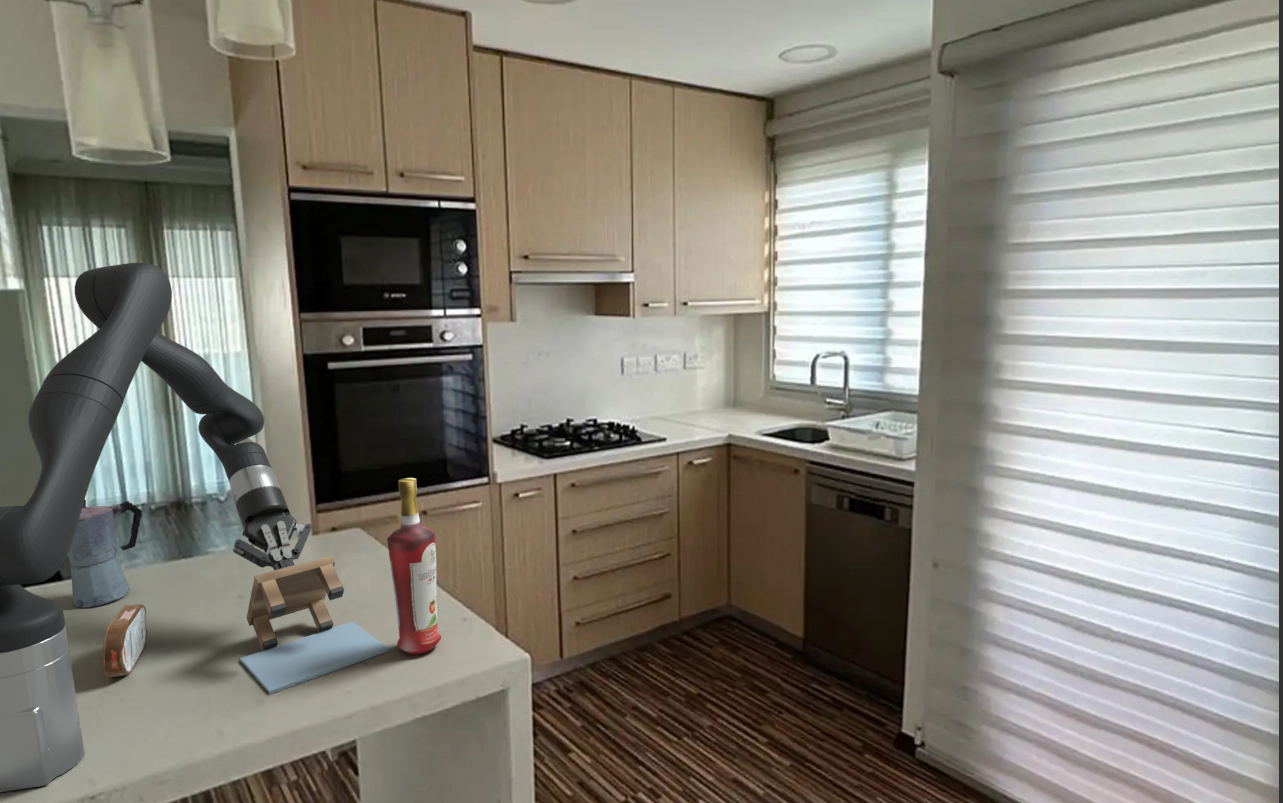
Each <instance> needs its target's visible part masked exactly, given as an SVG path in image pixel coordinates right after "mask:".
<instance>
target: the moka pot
mask: <svg viewBox="0 0 1283 803" xmlns="http://www.w3.org/2000/svg"><path fill="white" fill-rule="evenodd" d="M127 511H131V512H133V516H132V523H131V532H130V535H131V536H130V538H129V541H128V543H127V544H123V545H121V546H120V547H119V548H120V549H121V551H126V550H129V549H133V548H135V547H136V543H137V539H138V533H139V528H140V524H141V520H142V517H143V516H142V515H143V513H142V512H143V511H142V509H141V508H139V507H138V506H137V505H134V504H133V503H132V502H130V501H129V500H127V501H124V502H121V503H117V504H112V505H109V506H108V505H97V506H96V505H95V506H87V500H86V499H85V500H84V503H83V507H82V510H81V514H80V518H79V521H78V525H77V528H76V531H75V535H74V538H73V541H72V544H71V547H70V550H69V552H68V554H67V556H66V558H68V560H69V564H70V565H71V568H70V570H69V571H70V575H71V588H72V589H71V590H72V602H73V603H72V605H73V606H74V607H76V608H83V609H85V608H92V607H98V606H99V607H100V606H102V605H105V604H109V603H112V602H115V601H117V600H119V599H121V598H124V597H125V596H127V595H128V594H129V592H130V590H131V589H130V586H129V584H128V580H127V578H126V575H125V573H124V570H123V568H122V565H121V562H120V561H119V558H118V556H117V551H118V548H117V547H116V545H117V532H116V530H117V529H116V527H117V526H116V515H120V514H124V513H126V512H127Z"/></svg>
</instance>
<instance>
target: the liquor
mask: <svg viewBox="0 0 1283 803" xmlns="http://www.w3.org/2000/svg"><path fill="white" fill-rule="evenodd" d="M417 486H418V485H417V478H414V477H406V478H401V479H399V480H398V492H399V496H400V501H401V504H400V528H398V529H396V530H394V531H393V532H392V533H391V534H389V535H388V537H387V539H386V540H387V549H388V556H389V564H390V566H389V567H390V572H391V578H392V586H393V592H394V600H395V609H396V616H397V617H396V618H397V624H398V635H399V638H398V640H397V642H396V645H397V647H398V648H399V649H400V650H402V651H403V652H405V653H407V654H408V655H410V656H411V655H415V656H417V655H423V654H426V653H429V652H430V651H432V650H433V649H434V648H435V647H436V646H437V645H438V644H439V643H440V641H442V635H441V634H440V632H439V628H438V604H437V603H438V602H437V600H438V599H437V597H438V596H437V550H436V548H437V546H436V544H437V542H436V537H437V536H436V532H435V531H434V530H433V529H431V528H429V527H428V526H424V525H421V520H420V516H419V515H420V514H419V509H418V504H417V492H418V491H417V490H418V488H417Z"/></svg>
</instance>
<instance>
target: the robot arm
mask: <svg viewBox="0 0 1283 803" xmlns="http://www.w3.org/2000/svg"><path fill="white" fill-rule="evenodd" d="M172 297H173V289H172V286H171V282H170V278H169V277H168V275H167V274H166V272H165V271H164V270H163V269H162V268H160V267H159V266H157V265H155V264H152V263H149V262H138V261H136V262H128V263H122V264H115V265H114V264H113V265H108V266H102V267H97V268H92V269H88V270H85V271H83V272H82V273H80V275H79V276H78V277H77V278H76V281H75V284H74V298H75V301H76V303H77V305H78V307H79V309H80V310H81V313H82V314H83V315H84V316H85V317H86V318H87V319H88V320H89V321H90V322H91V323H92V324H93V325H95V327H97V328H98V329H97V330H96V332H94V333H93V334H92V335H91V336H89V337H88V338H87V339H85V340H84V341H83V342H81V343H80V344H79V345H78V346H76V347H75V348H73V349H72V350H70V352H69V353H67V354H66V355H65V356H64V357H63V358H62V359H60V361H59V362H57V363H56V364H55V365H54V366H53V367H52V368H51V369H50V371H49V373H48V374H47V375H46V376H45V379H44V380H43V382H42V384H41V386H40V388H39V389H38V391H37V394H36V396H35V398H34V400H33V401H32V403H31V405H30V406H31V407H30V408H29V411H28V427H29V428H28V429H29V432H30V436H31V439H32V441H33V443H34V446H35V449H36V451H37V453H38V456H39V459H40V463H41V470H40V475H39V479H38V481H37V483H36V486H35V489H34V490H33V493H32V494H31V497H30V498H29V499H28V500H27V502H26V503H24V504H23V505H13V506H11V505H10V506H0V793H5V792H10V791H17V790H23V789H30V788H35V787H44V786H47V785H49V784H50V783H51V782H52V781H53V779H56V778H58V777H59V776H61V775H63V774H64V773H66V772H68V771H69V770H70V769H72V768H74V767H75V766H76V765H77V764H78V763H79V762H80V761H81V760H82V759H83V757H84V754H85V747H84V740H83V734H82V729H81V728H82V727H81V722H80V720H81V719H80V714H79V709H78V708H79V707H78V701H77V695H76V688H75V682H74V675H73V674H74V673H73V668H72V662H71V655H70V654H71V653H70V648H69V640H68V633H67V628H66V621H65V615H64V614H65V613H64V610H63V607H62V606H61V605H60V603H58V602H57V601H55V600H53V599H50V598H47V597H44V596H40V595H37V594H35V593H33V592H31V591H29V590H27V589H26V588H24V587H23V586H22V585H28V584H30V585H31V584H37V583H38V584H39V583H41V582H46V581H47V580H48V579H50V578H52V577H53V576H55V574H57V572H58V571H59V570H60V569H61V567H62V566H63V564H64V562H65V561H66V559H67V554H68V552H69V550H70V547H71V544H72V541H73V538H74V535H75V531H76V528H77V525H78V521H79V518H80V514H81V510H82V507H83V503H84V500H86V496H87V493H88V490H89V486H90V483H91V482H92V479H93V478H92V477H93V474H94V472H95V470H96V468H97V464H98V462H99V459H100V457H101V455H102V453H103V451H104V447H105V445H106V443H107V440H108V438H109V436H110V433H111V432H112V430H113V428H114V425H115V423H116V421H117V419H118V416H119V414H120V411H121V410H122V407H123V405H124V402H125V399H126V396H127V393H128V390H129V388H130V386H131V384H132V381H133V380H134V376H136V372H137V371H138V369H139V366H140V365H141V363H143V364H144V365H146V367H148V368H149V369H151V370H152V372H154V373H155V374H157V375H158V377H160V378H161V379H162V380H163V381H164V382H165V384H167V386H169V388H170V389H171V390H172V391H173V392H174V393H175V395H177V396H178V397H179V399H180V400H181V401H182V402H183V403H184V404H185V405H186V406H187V407H188V408H189V409H190V410H191V411H192V412H193V413H195V414H199V415H203V416H202V417H201V418H200V420H199V422H198V433H199V435H200V437H201V438H202V440H204V442H205V443H206V444H207V445H208V447H209V448H210V449H211V450H212V451H213V453H215V455H216V456H217V458H218V459H219V461H220V463H221V465H222V467H223V469H224V472H225V474H226V477H227V480H228V483H229V486H230V487H229V488H230V493H231V497H232V502H233V504H234V506H235V509H236V511H237V514H238V517H239V519H240V522H241V526H242V527H243V531H242V537H241V538H240V539H235V541H234V544H233V548H232V551H233V553H234V554H236V555H238V556H239V557H242V558H243V559H245V560H247V561H249V563H252V564H254V565H256V566H258V567H259V568H266V567H270V568H272V569H273V571H274V570H278V569H282V568H286V567H289V566H293V565H295V562H294V560H298V559H299V558H300V556H301V553H302V552H303V549H304V548H305V545H306V542H307V540H308V538H309V536H310V534H311V531H312V529H313V525H312V524H310V523H306V524H305V525H304V524H301V523H297V519H296V518H295V517H293V516H292V514H291V512H290V509H289V506H288V504H287V501H286V499H285V496H284V493H283V491H282V489H281V486H280V483H279V480H278V478H277V477H276V475H275V473H274V471H273V469H272V467H271V464H270V462H269V459H268V456H267V454H266V452H265V449H264V447H263V446H262V445H261V444H259V443H257V442H252V441H248V442H247V441H246V442H243V441H244V440H247V439H249V438H251V437H253V436H255V435H257V434H259V433H260V432H261V431H262V430H263V428H264V425H265V418H264V414H263V412H262V411H261V409H260V408H259V407H258V405H256V404H255V403H254V402H253V401H251V400H250V399H249V398H247V397H245V396H244V395H243V394H241V393H239V392H237V391H236V390H235V389H233V388H232V387H230V386H229V385H228V384H226V383H225V381H224V380H223V379H222V378H221V376H220V375H219V374H218V373H217V371H216V370H215V369H214V368H213V367H212V365H211V364H210V363H209V362H208V361H207V360H206V359H204V358H203V357H202V356H201V355H199V354H197V353H196V352H195V351H193V350H191V349H189V348H188V347H185V346H184V345H182V344H180V343H178V342H176V341H174V340H172V339H171V338H168V337H166V336H165V335H163V334H162V333H161V332H158V331H160V329H161V327H162V326H163V323H164V321H165V320H166V318H167V316H168V315H169V314H168V313H169V311H170V309H171V306H172V299H173V298H172ZM294 531H295V535H296V538H298V540H297V542H296V544H295V546H294V548H293V549H291V544H290V541H291V539H292V537H293V534H294ZM253 545H254V546H253Z"/></svg>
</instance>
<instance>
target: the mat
mask: <svg viewBox="0 0 1283 803" xmlns="http://www.w3.org/2000/svg"><path fill="white" fill-rule="evenodd" d="M386 652H389V647H388V646H386V645H384V643H382V642H381V641H379V640H378V639H377V638H376V637H374V636H372V635H371V634H370V633H368V631H366V630H364V629H363V628H362V627H360V626H359V625H358V624H357V623H355V622H354V621H350V622H346V623H343V624H340V625H338V626H334V627H332V628H331V629H328V630H325V631H322V632H319V631H318V632H316V633H312V634H310V635H307V636H305V637H301V638H298V639H295V640H293V641H288V642H286V643H283V644H280V645H277V646H276V647H273V648H270V649H267V650H264V651H262V650H261V651H258V652H254V653H253V654H249V655H247V656H243V657H240V663H242V665H244V667H245V666H246V667H245V668H246V669H247V668H248V669H247V670H248V671H249V673H251V675H252V676H253V675H254V676H255V677H254V676H253V677H254V678H255V679H256V680H257V682H259V684H260V685H261V684H262V685H263V686H264V687H263V686H262V685H261V686H262V687H263V688H264V689H265V691H266V692H267V693H268V694H269V693H272V694H274V693H273V692H275V693H277V692H276V691H278V692H280V691H279V690H281V691H283V690H285V689H284V688H286V689H288V688H287V687H289V686H291V687H293V686H292V685H294V686H297V685H299V684H298V683H300V684H302V683H304V681H305V682H308V681H310V680H313V679H316V678H319V677H321V676H324V675H326V674H329V673H332V672H335V671H337V670H340V669H344V668H346V667H348V666H351V665H354V664H357V663H359V662H362V661H365V660H368V659H370V658H372V657H373V658H374V657H376V656H378V655H381V654H384V653H386ZM307 680H308V681H307ZM301 682H302V683H301ZM296 684H297V685H296ZM289 688H290V687H289ZM282 689H283V690H282Z"/></svg>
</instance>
